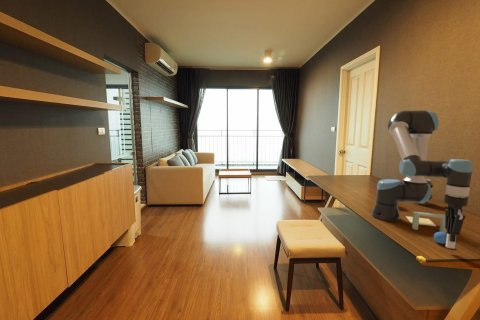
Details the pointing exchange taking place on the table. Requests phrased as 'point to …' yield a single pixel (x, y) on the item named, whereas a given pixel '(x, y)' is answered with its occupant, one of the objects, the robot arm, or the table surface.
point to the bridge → (417, 214)
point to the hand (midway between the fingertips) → (450, 247)
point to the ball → (440, 237)
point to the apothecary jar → (430, 195)
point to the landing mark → (422, 221)
